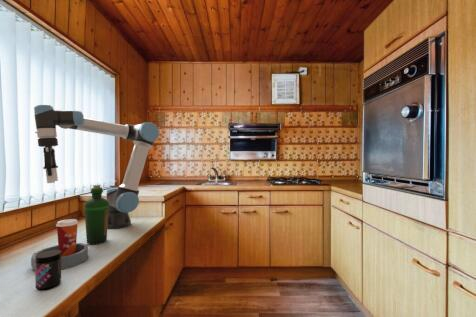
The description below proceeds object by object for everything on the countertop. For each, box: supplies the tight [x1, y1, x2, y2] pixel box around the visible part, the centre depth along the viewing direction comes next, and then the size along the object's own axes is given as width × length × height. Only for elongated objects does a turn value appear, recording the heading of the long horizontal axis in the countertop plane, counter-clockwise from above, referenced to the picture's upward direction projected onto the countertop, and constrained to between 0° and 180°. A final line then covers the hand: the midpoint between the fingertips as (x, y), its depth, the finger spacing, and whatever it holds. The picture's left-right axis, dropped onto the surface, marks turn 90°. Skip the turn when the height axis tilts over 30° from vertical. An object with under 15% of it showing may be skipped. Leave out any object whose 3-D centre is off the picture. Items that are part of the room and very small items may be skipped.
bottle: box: [83, 184, 109, 246], centre depth 122 cm, size 11×11×28 cm
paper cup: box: [55, 218, 79, 257], centre depth 103 cm, size 8×8×14 cm
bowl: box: [30, 242, 89, 272], centre depth 99 cm, size 18×18×4 cm
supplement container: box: [34, 250, 62, 292], centre depth 80 cm, size 7×7×10 cm
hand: (52, 182), depth 120 cm, fingers open, 13 cm apart
